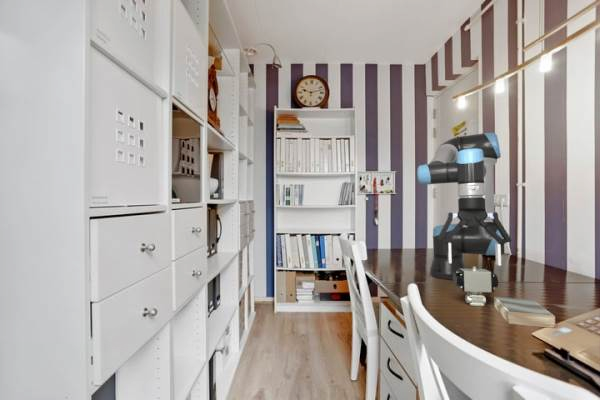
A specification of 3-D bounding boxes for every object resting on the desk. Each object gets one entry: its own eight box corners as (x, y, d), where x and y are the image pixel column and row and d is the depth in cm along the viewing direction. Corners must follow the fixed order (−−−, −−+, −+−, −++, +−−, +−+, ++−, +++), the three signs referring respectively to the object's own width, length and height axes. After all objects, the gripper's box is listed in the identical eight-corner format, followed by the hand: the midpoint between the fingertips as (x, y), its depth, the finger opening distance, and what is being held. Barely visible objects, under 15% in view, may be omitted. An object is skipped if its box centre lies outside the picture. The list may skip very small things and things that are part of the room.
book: (494, 306, 91) (493, 296, 91) (533, 310, 88) (532, 298, 88) (508, 323, 78) (508, 311, 78) (555, 328, 75) (554, 315, 75)
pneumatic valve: (499, 308, 90) (498, 268, 90) (457, 306, 92) (456, 267, 93) (491, 302, 95) (490, 265, 96) (452, 300, 98) (451, 264, 98)
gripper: (429, 197, 96) (431, 263, 95) (521, 195, 87) (524, 268, 86) (428, 198, 103) (430, 260, 102) (513, 196, 94) (516, 263, 93)
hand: (473, 263), depth 94 cm, fingers open, 13 cm apart
